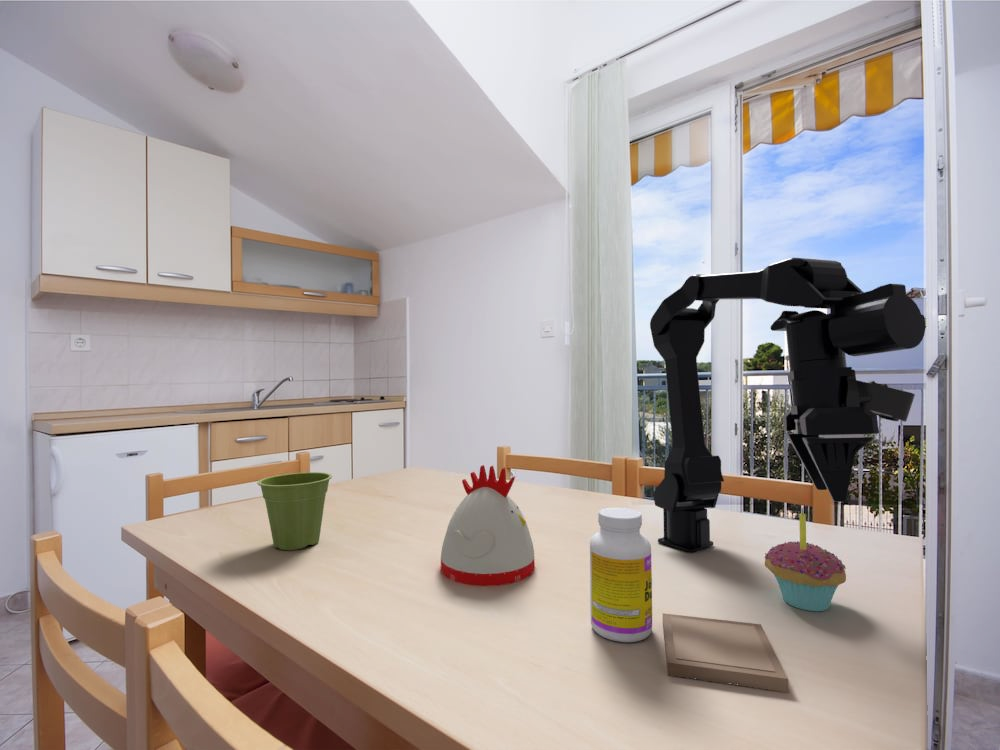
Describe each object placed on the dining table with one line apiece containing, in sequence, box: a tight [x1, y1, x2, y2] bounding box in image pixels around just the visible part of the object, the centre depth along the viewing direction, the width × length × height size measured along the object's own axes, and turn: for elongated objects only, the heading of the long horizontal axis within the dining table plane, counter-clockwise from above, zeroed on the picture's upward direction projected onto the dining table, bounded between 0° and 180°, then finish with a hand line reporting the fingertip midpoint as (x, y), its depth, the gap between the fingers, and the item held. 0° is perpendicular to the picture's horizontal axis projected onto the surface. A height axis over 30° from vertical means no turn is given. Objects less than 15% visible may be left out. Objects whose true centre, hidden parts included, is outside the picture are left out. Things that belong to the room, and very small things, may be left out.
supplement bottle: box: [589, 506, 653, 643], centre depth 55 cm, size 7×7×13 cm
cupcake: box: [764, 507, 847, 612], centre depth 61 cm, size 9×8×12 cm
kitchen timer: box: [440, 464, 535, 587], centre depth 73 cm, size 14×14×15 cm
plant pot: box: [256, 471, 333, 551], centre depth 85 cm, size 12×12×11 cm
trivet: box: [662, 613, 789, 693], centre depth 49 cm, size 10×10×1 cm
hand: (830, 495), depth 57 cm, fingers open, 9 cm apart
